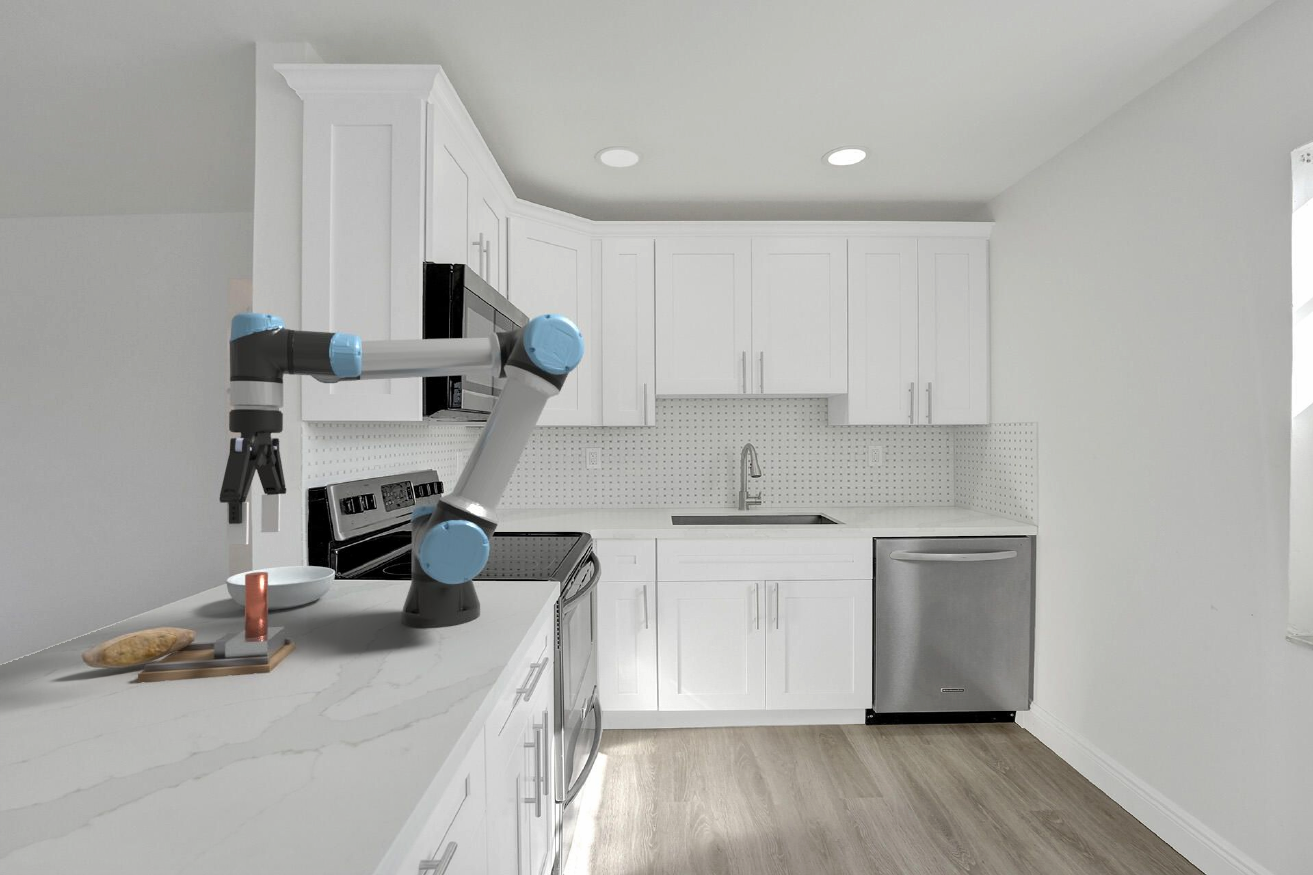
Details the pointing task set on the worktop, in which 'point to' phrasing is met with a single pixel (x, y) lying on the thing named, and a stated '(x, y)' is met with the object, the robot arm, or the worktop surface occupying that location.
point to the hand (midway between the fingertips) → (255, 538)
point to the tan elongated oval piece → (138, 647)
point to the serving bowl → (287, 585)
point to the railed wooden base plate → (209, 664)
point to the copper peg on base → (252, 625)
